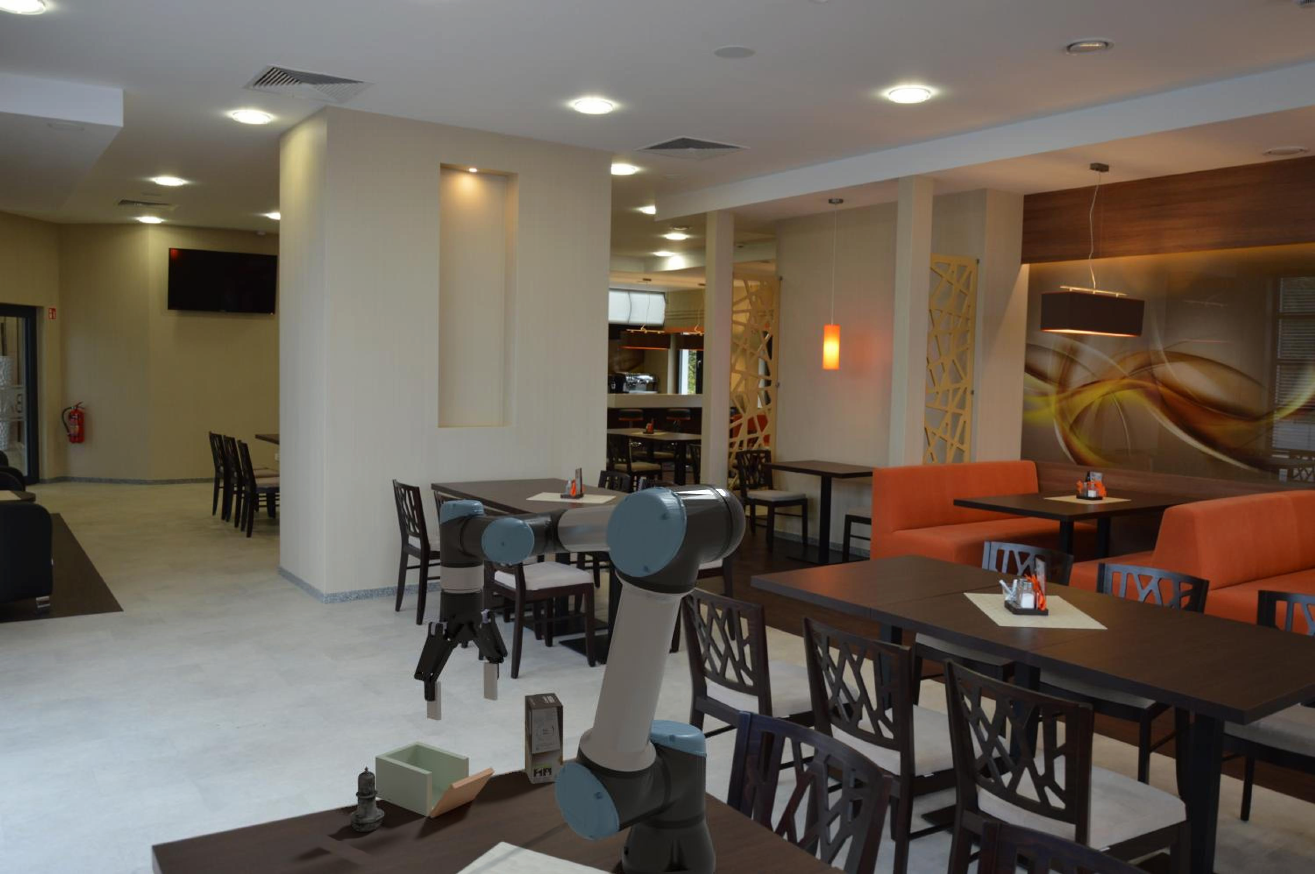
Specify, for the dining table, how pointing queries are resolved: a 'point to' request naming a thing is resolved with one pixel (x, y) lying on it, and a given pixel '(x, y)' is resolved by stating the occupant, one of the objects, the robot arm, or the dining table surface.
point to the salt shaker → (366, 805)
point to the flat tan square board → (461, 792)
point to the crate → (418, 775)
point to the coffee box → (543, 737)
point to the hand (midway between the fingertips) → (463, 708)
